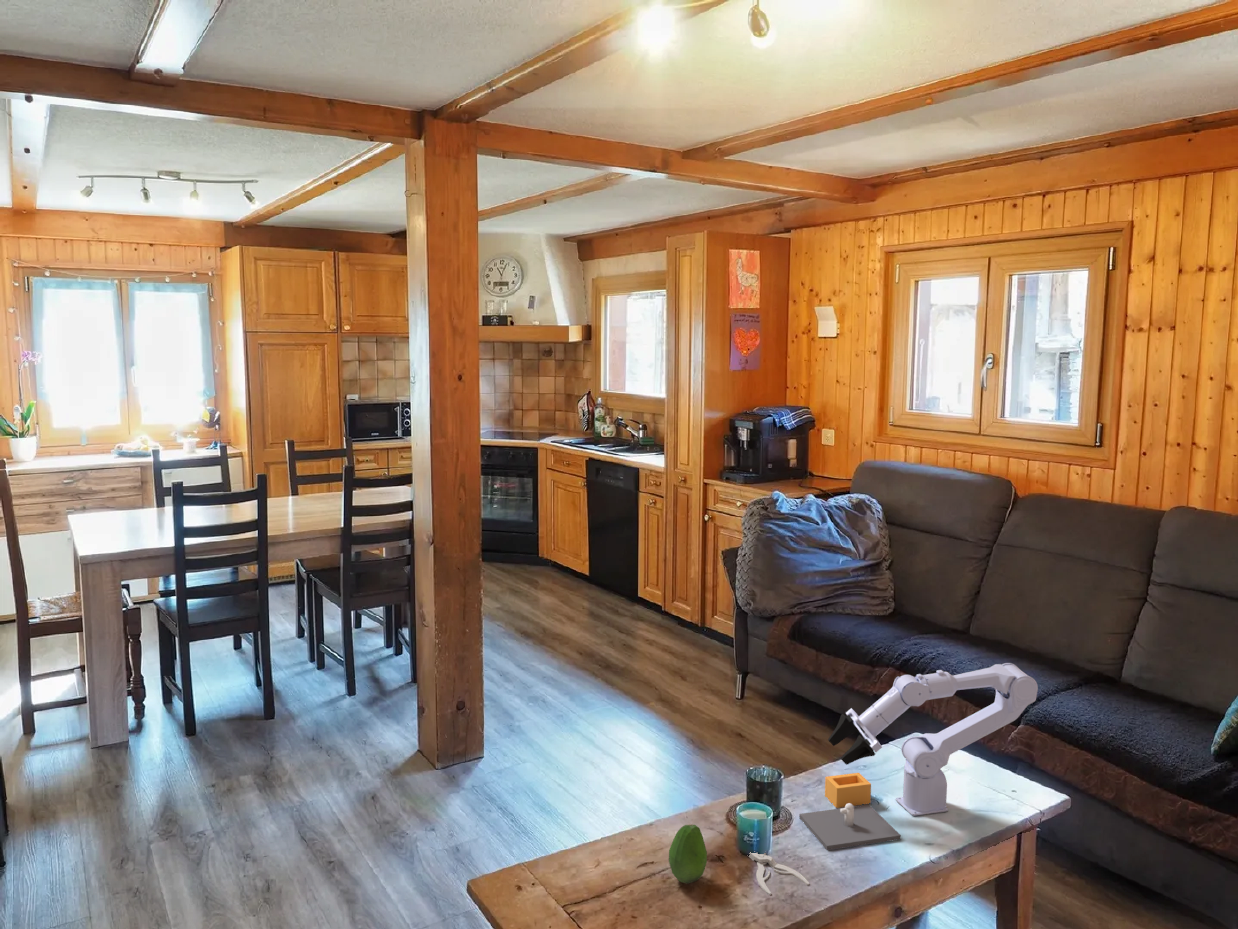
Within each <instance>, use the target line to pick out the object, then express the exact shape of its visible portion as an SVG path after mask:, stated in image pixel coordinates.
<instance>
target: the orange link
mask: <svg viewBox="0 0 1238 929" xmlns="http://www.w3.org/2000/svg"><path fill="white" fill-rule="evenodd" d="M824 780H825V781H824V797H825V798H826V797H827V798H828V799H827V798H826V799H827V800H828V802H830V803H831V804H832V803H833V804H832V805H833V806H834V807H835V809H839V808H845V805H846V804H847V803H851V804H852V805H853V806H862V804H864V805H870V804H871V800H872V798H871V797H872V796H871V795H872V794H871V793H872V783H871V782H870V781H868V779H866V777H864V776H863V775H862V774H861V773H860V772H855V773H854V772H852V773H847V774H844V773H843V774H836V775H830V776H829V775H828V776H825V779H824ZM869 803H870V804H869Z"/></svg>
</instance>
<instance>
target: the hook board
mask: <svg viewBox="0 0 1238 929" xmlns="http://www.w3.org/2000/svg"><path fill="white" fill-rule="evenodd" d="M799 817H800V818H799V819H800V821H801V822H802V823H803V822H804V823H803V824H804V825H805V827H806V828H807V829H808V828H809V829H808V830H809V831H810V832H811V833H812V835H813V834H814V835H815V836H814V835H813V836H814V837H815V838H816V839H817V840H818V842H819V843H820V844H821V846H823V848H824V849H825V850H826V851H831V850H837V849H845V848H846V849H847V848H850V847H857V846H867V845H873V844H878V843H885V842H886V841H887V842H891V841H892V840H893V841H900V840H902V835H901V834H900V833H899V832H898V831H897V830H896V829H895V828H894V827H893V826H892V825H891V824H890V823H889V822H888V821H887V820H886V819H885V818H884V817H883V816H881V815H880V813H879V812H878V811H876V810H875V809H874V807H872V806H871V805H870V804H864V805H856V806H853V805H852V804H851V803H847V804H846V805H845V807H841V808H834V809H832V808H831V809H826V810H818V811H811V812H803V813H799ZM887 842H886V843H887Z"/></svg>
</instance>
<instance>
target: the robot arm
mask: <svg viewBox="0 0 1238 929" xmlns="http://www.w3.org/2000/svg"><path fill="white" fill-rule="evenodd" d="M1038 686H1039V685H1038V683H1037V681H1036V680H1035V678H1033V677H1032V676H1029V674H1027V673H1025V672H1024V671H1022V670H1021V669H1020V668H1019V667H1018V666H1017V665H1016V664H1014V663H1012V662H1005V663H1002V664H1001V663H998V664H997V663H996V664H993V665H992V666H989V667H986V668H981V669H976V670H973V671H967V672H963V673H958V674H950V673H949V672H948V671H944V670H942V669H938V670H936V672H934V673H928V674H921V673H918V674H916V675H915V676H913V675H911V674H903V675H901V676H896V677H895V678H894V681H893V684H892V687H891V688H890V689H889V690H887V692H886V693H885V694H883V695H882V696H881V697H880V698H879V699H878V700H876V701H875V702H874V703H872V705H870V707H868V708H866V709H865V711H863V712H862V713H861V714H860V715H858V713H857V712H856V711H855V710H854V709H853V708H852V707H851V708H850V709H848V710H847V711H845V714H846V715H845V714H844V713H842V714H841V715H840V718H839V720H838V722H837V725H836V727H835V728H834V730H833V731H832V733H831V734H830V736H829V738H828V739H827V740H828V742H829V743H830V744H831V745H832V747H834V746H836V745H838V744H839V743H841V742H842V741H843V740H845V739H846V738H848V737H850V736H852V735H854V734H856V733H860V734H859V735H858V736H857V738H856V739H855V741H854V743H853V744H852V745H851V747H850V748H849V749H848V750H847V751H846V752H845V753H844V754H842V756H840V760H841V761H842V762H843V763H844V764H845V765H846V766H847V765H849V764H851V763H853V762H855V761H858V760H861V759H863V758H868V757H875V755H876V753H878V752H879V751H880V750H881V749H882V748H883V746H882V745H881V744H880V742H879V740H878V739H877V738H876V737H877V735H879V734H880V733H881V732H883V730H885V729H886V728H887V727H888V726H890V725H891V724H892V723H893V722H894V721H895V720H897V718H899V717H901V715H902V714H904V713H905V712H906V711H908V710H909V708H910V707H920V706H922V705H923V704H924V703H925V702H926V701H929V700H936V699H943V698H949V697H953V696H954V695H955V693H956V692H957V691H960V690H972V689H982V688H992V689H995V698H994V702H993V703H991V704H990V705H988V706H986V707H983V708H982V709H980V710H978V711H976V712H975V713H973V714H970V715H969V716H966V717H965V718H963V719H961V720H959V721H957V722H955V723H953V724H952V725H950V726H948V727H946V728H944V729H942V730H941V731H939V732H937V733H929V732H928V733H927V732H926V733H923V734H921V735H918V736H917V735H916V736H915V735H914V736H910V737H908V738H906V739H905V740H904V741H903V742H902V744H901V750H900V751H901V754H902V756H903V757H904V759H905V764H904V768H903V787H902V788H903V792H902V793H903V794H902V796H900V797H895V801H896V802H897V803H898V804H899V805H900V806H902V807H903V809H905V811H907V812H908V813H909V814H910V815H911V816H915V817H917V816H922V815H931V814H937V813H944V812H948V811H949V808H948V807H947V794H948V782H947V778H946V774H945V772H944V771H942V768H943V767H945V766H947V765H948V764H949V759H950V756H951V755H953V754H954V753H956V752H958V751H960V750H962V749H963V748H966V747H967V746H969V745H971V744H973V743H975V742H977V741H978V740H982V738H984V737H986V736H988V735H990V734H992V733H994V732H995V731H997V730H1000V729H1001V728H1003V727H1005V726H1007V725H1009V724H1011V723H1013V722H1014V721H1016V720H1017V719H1018V718H1019V717H1020V716H1021V714H1022V713H1023V712H1024V710H1025V709H1026V708H1027V707H1028V706H1029V705H1031V704H1033V703H1034V702H1036V699H1037V696H1038V691H1039V690H1038V688H1039V687H1038Z"/></svg>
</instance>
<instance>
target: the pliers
mask: <svg viewBox="0 0 1238 929" xmlns="http://www.w3.org/2000/svg"><path fill="white" fill-rule="evenodd" d="M749 854H750V855H749V856H748V857H749V858H750V859H751V861H753V862H754V861H756V865H757V870H756V873H755V874H756V880H757V883H758V885H759V887H760V888H761V889H762V891H764V893H766V894H767V895H768V896H772V892H771V890H770V889H769V887H768V886H767V884H766V883H765V881H766V880H768V879H769V878H770V874H771V871H770V870H768V872H767V875H766V876H764V874H765V871H766V868H765V865H767V864H768V866H770V867H771V868H773V871H774V873H778V874H781V875H789V876H790V875H792V876H793V877H796V878H797V879H799V881H801V882H802V883H804V884H805V885H806V886H810V882H809V881H808V880H807V879H806V877H805V876H804V875H802V874H801V873H800V872H798V871H797V870H795V869H794V868H792V867H789V866H788V865H787V866H786V865H784V864H781V863H778V862H776V860H775V859H774V858H773V857H772V856H770V855H768V854H767V852H766V853H764V854H758V852H756V853H751V852H750V853H749Z"/></svg>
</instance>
